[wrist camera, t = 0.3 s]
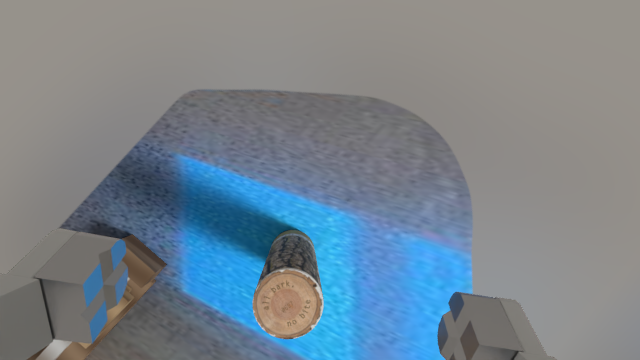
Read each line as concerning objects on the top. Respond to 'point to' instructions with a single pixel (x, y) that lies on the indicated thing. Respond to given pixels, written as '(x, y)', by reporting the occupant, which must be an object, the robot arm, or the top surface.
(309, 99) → the top surface
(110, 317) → the carriage
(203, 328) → the top surface
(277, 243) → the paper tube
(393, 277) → the top surface
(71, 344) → the rail track
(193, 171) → the top surface
